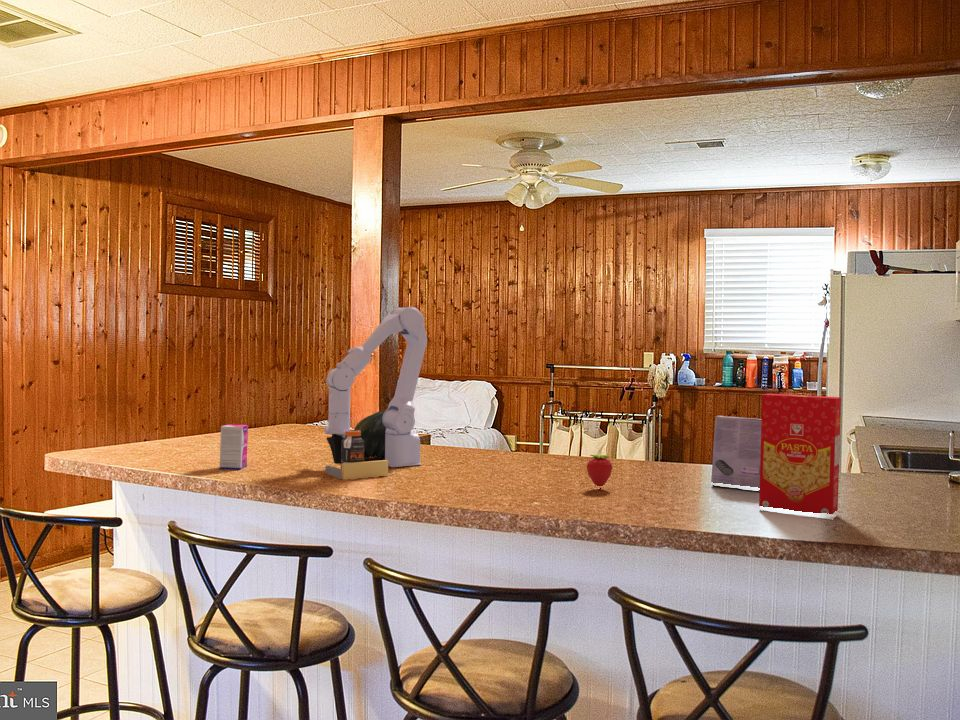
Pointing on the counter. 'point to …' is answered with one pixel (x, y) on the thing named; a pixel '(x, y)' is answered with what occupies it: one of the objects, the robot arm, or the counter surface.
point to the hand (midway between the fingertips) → (338, 463)
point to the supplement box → (233, 447)
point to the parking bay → (359, 470)
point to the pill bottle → (352, 447)
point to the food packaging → (800, 452)
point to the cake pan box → (737, 451)
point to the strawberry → (599, 469)
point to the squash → (373, 435)
